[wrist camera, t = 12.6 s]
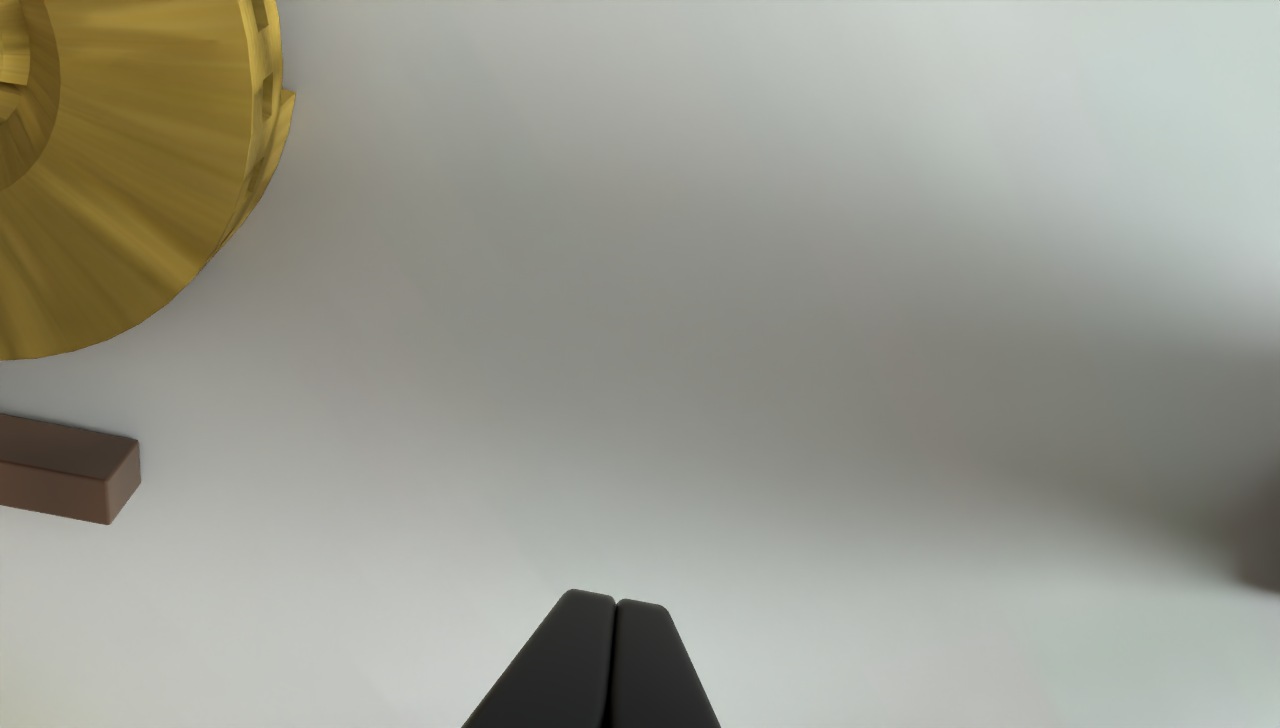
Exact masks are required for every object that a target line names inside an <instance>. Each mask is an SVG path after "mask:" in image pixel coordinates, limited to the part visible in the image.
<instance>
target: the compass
mask: <svg viewBox="0 0 1280 728" xmlns="http://www.w3.org/2000/svg"><path fill="white" fill-rule="evenodd" d="M282 73H283V59H282V47H281V36H280V24H279V16H278V11H277V6H276V1H275V0H0V361H4V360H20V359H36V358H41V357H47V356H52V355H57V354H63V353H68V352H73V351H76V350H79V349H82V348H85V347H88V346H91V345H94V344H97V343H100V342H103V341H106V340H109V339H111V338H113V337H115V336H117V335H119V334H121V333H123V332H125V331H127V330H129V329H131V328H133V327H135V326H136V325H138V324H140V323H142V322H143V321H144V320H146V319H147V318H149V317H150V316H151V315H153V314H154V313H156V312H157V311H158V310H160V309H161V308H163V307H164V306H165V305H167V304H168V303H169V302H170V301H171V300H172V299H173V298H174V297H175V296H176V295H177V294H178V293H179V292H180V291H181V290H182V289H183V288H184V287H185V286H186V285H187V284H188V283H189V282H190V281H191V280H192V279H193V278H194V277H195V276H196V275H197V274H198V273H199V272H200V271H201V270H202V268H203V267H204V266H205V265H206V264H207V263H208V262H209V261H210V259H211V258H212V257H213V256H214V255H215V254H216V253H217V252H218V251H219V249H220V248H221V247H222V246H223V245H224V244H225V243H226V242H227V241H228V239H229V238H230V237H231V236H232V235H233V234H234V233H235V232H236V231H237V229H238V228H239V227H240V226H241V225H242V223H243V222H244V221H245V219H246V218H247V217H248V215H249V214H250V212H251V211H252V210H253V208H254V207H255V206H256V204H257V203H258V201H259V200H260V199H261V197H262V195H263V193H264V191H265V189H266V187H267V185H268V183H269V181H270V179H271V177H272V175H273V174H274V172H275V170H276V168H277V165H278V162H279V159H280V156H281V153H282V150H283V147H284V144H285V141H286V138H287V135H288V133H289V128H290V123H291V117H292V112H293V106H294V101H295V95H296V92H293V91H289V90H286V89H282Z"/></svg>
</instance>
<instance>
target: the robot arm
mask: <svg viewBox="0 0 1280 728" xmlns="http://www.w3.org/2000/svg"><path fill="white" fill-rule="evenodd" d="M461 728H721V726H720V724H719V722H718V719H717V717H716V715H715V713H714V711H713V708H712V706H711V704H710V702H709V700H708V697H707V695H706V693H705V691H704V689H703V686H702V684H701V682H700V680H699V678H698V675H697V673H696V671H695V669H694V667H693V664H692V662H691V660H690V658H689V655H688V653H687V651H686V649H685V647H684V644H683V642H682V640H681V638H680V636H679V633H678V631H677V629H676V627H675V625H674V622H673V620H672V618H671V616H670V614H669V612H668V611H667V609H666V608H664V607H663V606H661V605H657V604H651V603H646V602H641V601H636V600H630V599H622V600H620V601H619V602H618V603H617V604H615V601H614V599H613V598H612V597H611V596H609V595H604V594H599V593H593V592H588V591H583V590H577V589H571V590H568V591H567V592H566V593H564V594H563V595H562V597H561V598H560V599H559V601H558V602H557V603H556V605H555V606H554V607H553V608H552V610H551V611H550V612H549V614H548V615H547V616H546V618H545V619H544V620H543V621H542V623H541V624H540V625H539V627H538V628H537V629H536V631H535V632H534V633H533V635H532V636H531V637H530V638H529V640H528V641H527V642H526V644H525V645H524V646H523V648H522V649H521V650H520V652H519V653H518V654H517V655H516V657H515V658H514V659H513V661H512V662H511V663H510V665H509V666H508V667H507V668H506V670H505V671H504V672H503V674H502V675H501V676H500V678H499V679H498V680H497V682H496V683H495V684H494V685H493V687H492V688H491V689H490V691H489V692H488V693H487V695H486V696H485V697H484V699H483V700H482V701H481V702H480V704H479V705H478V706H477V708H476V709H475V710H474V712H473V713H472V714H471V715H470V717H469V718H468V719H467V721H466V722H465V723H464V725H463V726H462V727H461Z"/></svg>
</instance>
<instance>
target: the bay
mask: <svg viewBox="0 0 1280 728" xmlns="http://www.w3.org/2000/svg"><path fill="white" fill-rule="evenodd" d="M140 483H141V476H140V458H139V442H138V441H137V440H133V439H128V438H123V437H118V436H112V435H107V434H102V433H97V432H91V431H86V430H81V429H76V428H71V427H65V426H60V425H55V424H50V423H44V422H39V421H34V420H29V419H24V418H18V417H13V416H8V415H3V414H0V505H3V506H8V507H13V508H19V509H24V510H29V511H35V512H40V513H45V514H51V515H56V516H61V517H67V518H72V519H77V520H83V521H88V522H93V523H98V524H104V525H110V524H111V523H112V521H113V520H114V519H115V517H116V516H117V515H118V513H119V512H120V511H121V509H122V508H123V506H124V505H125V504H126V502H127V501H128V500H129V498H130V497H131V496H132V494H133V493H134V491H135V490H136V489H137V487H138V486H139V485H140Z"/></svg>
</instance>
